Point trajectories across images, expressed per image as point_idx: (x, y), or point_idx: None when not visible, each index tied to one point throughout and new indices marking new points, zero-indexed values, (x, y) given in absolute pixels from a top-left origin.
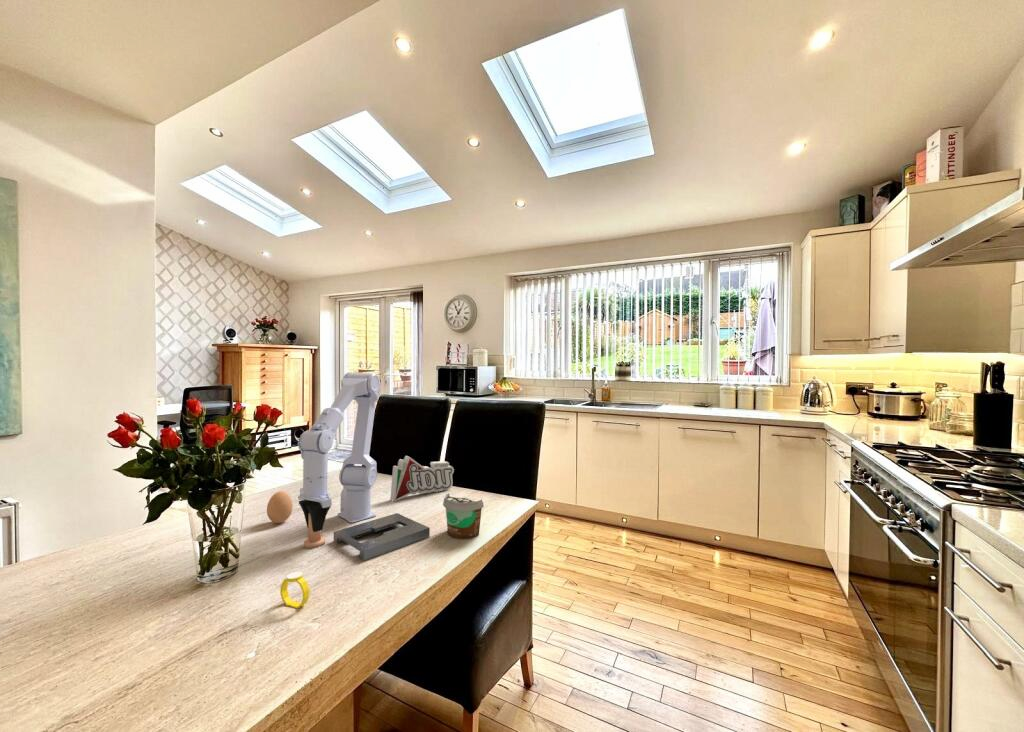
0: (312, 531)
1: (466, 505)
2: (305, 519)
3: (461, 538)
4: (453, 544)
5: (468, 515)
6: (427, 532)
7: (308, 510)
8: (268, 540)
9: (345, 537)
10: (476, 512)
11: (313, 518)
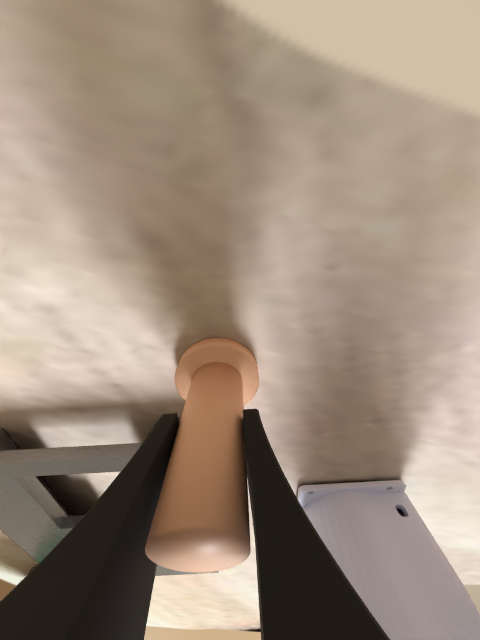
0: (185, 409)
1: None
2: (267, 451)
3: (33, 568)
4: (9, 554)
5: None
6: None
7: (257, 561)
8: (427, 238)
9: (99, 462)
10: None
11: (83, 520)
